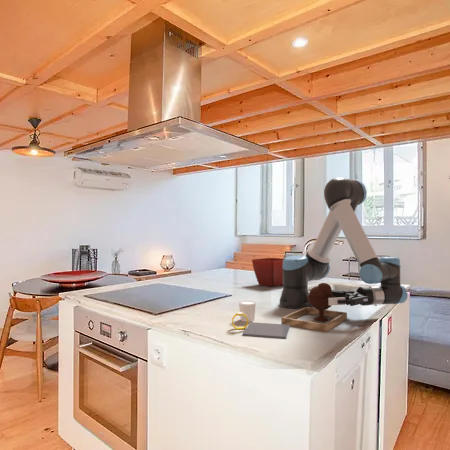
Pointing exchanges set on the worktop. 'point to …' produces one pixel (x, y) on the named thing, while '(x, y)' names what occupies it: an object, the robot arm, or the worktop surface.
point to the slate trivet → (267, 330)
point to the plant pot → (269, 271)
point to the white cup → (247, 310)
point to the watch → (240, 315)
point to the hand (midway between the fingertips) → (320, 298)
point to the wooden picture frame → (292, 321)
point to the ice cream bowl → (320, 299)
